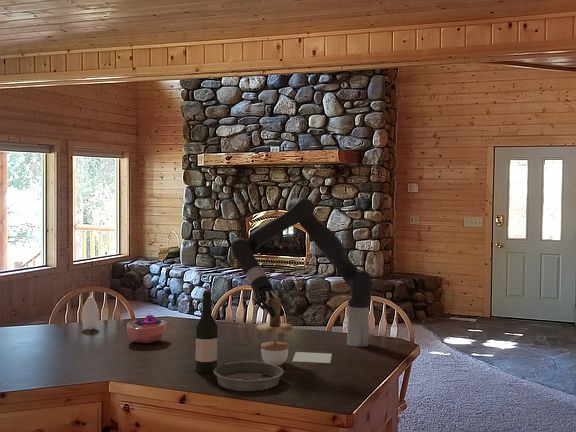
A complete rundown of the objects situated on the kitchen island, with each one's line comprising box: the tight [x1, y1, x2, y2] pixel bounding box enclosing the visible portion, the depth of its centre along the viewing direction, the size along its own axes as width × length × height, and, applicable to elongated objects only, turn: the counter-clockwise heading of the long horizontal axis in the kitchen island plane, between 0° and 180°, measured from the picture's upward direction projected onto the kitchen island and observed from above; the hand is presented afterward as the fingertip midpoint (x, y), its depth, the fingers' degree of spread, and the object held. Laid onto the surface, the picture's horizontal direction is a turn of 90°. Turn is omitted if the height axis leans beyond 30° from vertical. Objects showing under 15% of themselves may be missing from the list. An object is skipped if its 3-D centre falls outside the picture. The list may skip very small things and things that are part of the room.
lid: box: [256, 298, 294, 334], centre depth 258 cm, size 14×14×12 cm
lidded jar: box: [260, 339, 289, 366], centre depth 259 cm, size 11×11×9 cm
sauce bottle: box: [81, 291, 100, 331], centre depth 316 cm, size 8×8×18 cm
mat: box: [291, 351, 333, 364], centre depth 270 cm, size 15×15×1 cm
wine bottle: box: [195, 289, 219, 374], centre depth 248 cm, size 8×8×30 cm
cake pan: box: [213, 360, 284, 392], centre depth 235 cm, size 25×25×4 cm
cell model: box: [126, 314, 168, 344], centre depth 292 cm, size 17×20×11 cm
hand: (278, 315), depth 257 cm, fingers closed on lid, 4 cm apart
